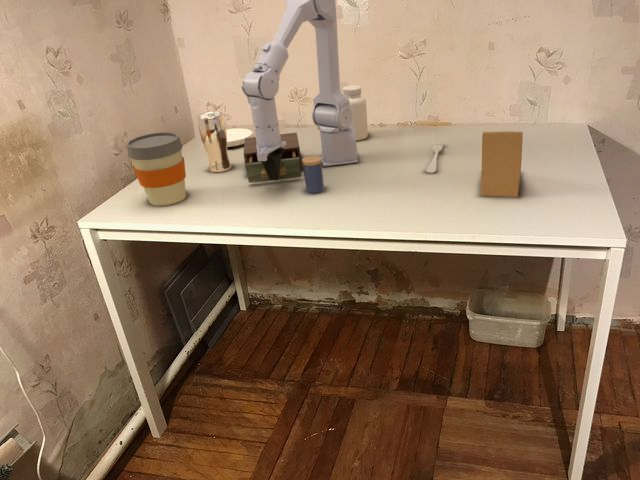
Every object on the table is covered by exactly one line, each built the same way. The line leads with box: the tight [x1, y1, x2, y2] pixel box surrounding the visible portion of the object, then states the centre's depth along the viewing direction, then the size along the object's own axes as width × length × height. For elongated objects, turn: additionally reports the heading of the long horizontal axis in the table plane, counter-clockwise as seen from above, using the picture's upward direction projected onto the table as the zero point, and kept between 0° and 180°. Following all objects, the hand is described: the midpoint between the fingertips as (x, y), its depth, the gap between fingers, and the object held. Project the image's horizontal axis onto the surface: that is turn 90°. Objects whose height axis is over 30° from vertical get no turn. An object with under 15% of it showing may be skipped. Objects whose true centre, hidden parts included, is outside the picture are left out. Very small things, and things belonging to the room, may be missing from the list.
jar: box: [301, 155, 325, 195], centre depth 140 cm, size 5×5×8 cm
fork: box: [426, 144, 444, 174], centre depth 155 cm, size 3×21×3 cm, turn 167°
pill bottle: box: [342, 85, 369, 142], centre depth 173 cm, size 8×8×15 cm
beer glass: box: [197, 111, 232, 173], centre depth 157 cm, size 7×7×15 cm
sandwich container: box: [480, 130, 524, 198], centre depth 134 cm, size 9×15×15 cm, turn 166°
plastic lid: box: [226, 127, 254, 148], centre depth 181 cm, size 14×14×2 cm
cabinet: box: [243, 132, 304, 177], centre depth 158 cm, size 14×15×7 cm
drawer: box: [245, 150, 302, 184], centre depth 150 cm, size 17×13×5 cm
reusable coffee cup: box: [126, 131, 187, 207], centre depth 141 cm, size 12×12×15 cm
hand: (274, 179), depth 142 cm, fingers closed
